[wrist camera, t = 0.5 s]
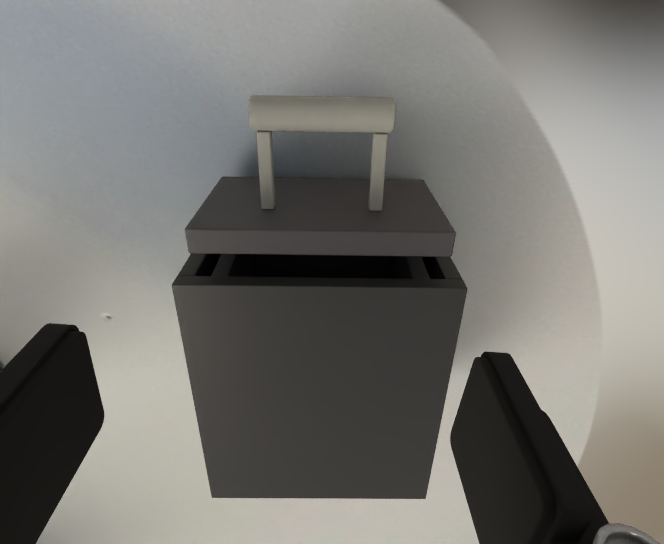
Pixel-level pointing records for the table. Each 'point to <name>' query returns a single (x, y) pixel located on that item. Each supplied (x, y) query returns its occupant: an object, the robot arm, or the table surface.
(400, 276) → the sliding drawer
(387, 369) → the dark grey drawer box
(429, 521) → the table surface
